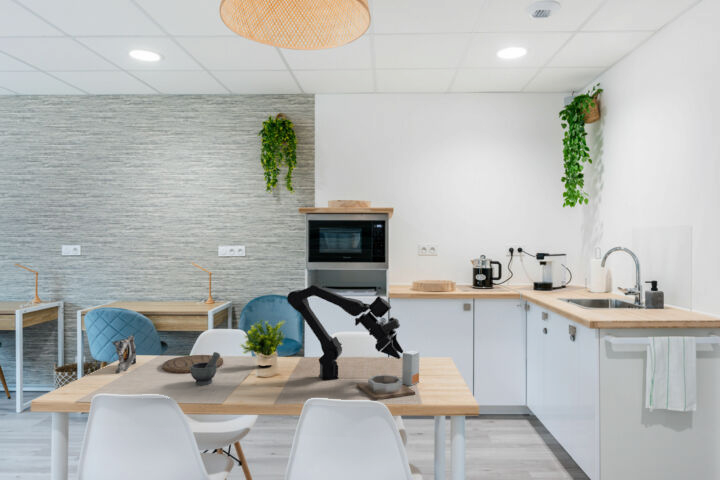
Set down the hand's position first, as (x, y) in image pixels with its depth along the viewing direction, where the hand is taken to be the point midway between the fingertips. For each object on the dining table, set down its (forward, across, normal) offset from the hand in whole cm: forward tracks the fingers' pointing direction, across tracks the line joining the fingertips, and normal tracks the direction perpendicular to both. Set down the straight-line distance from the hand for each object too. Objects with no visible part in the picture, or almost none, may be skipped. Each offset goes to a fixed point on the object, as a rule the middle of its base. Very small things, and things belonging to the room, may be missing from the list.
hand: (401, 355), depth 176 cm
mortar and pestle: (-45, -17, +59) cm, 76 cm away
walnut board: (+4, -11, +11) cm, 16 cm away
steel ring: (+4, -11, +11) cm, 16 cm away
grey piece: (-76, -7, +90) cm, 118 cm away
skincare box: (+10, 0, +5) cm, 11 cm away
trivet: (-58, +5, +73) cm, 93 cm away
